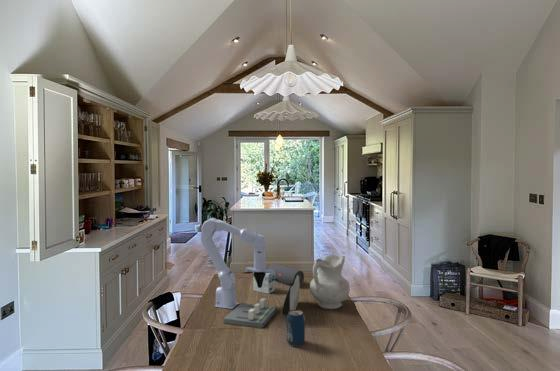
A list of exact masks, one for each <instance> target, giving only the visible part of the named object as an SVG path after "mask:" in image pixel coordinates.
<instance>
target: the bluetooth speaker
mask: <svg viewBox="0 0 560 371" xmlns="http://www.w3.org/2000/svg"><path fill="white" fill-rule="evenodd" d="M268 268H269V269H274V272H275V280H277V281H278V282H279V283H281V282H282V283H281V284H285V285H288V286H291V285H292V283H293V280H294V279H295V277H296V276H297V275H298V276H299V284H300V285H302V284H303V282H304V281H305V275H304V274H305V273H304V272H303V270H301V269H298V268H295V267H292V266H288V265H284V264H279V263H271V264H270V265H269V267H268Z"/></svg>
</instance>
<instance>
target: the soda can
mask: <svg viewBox="0 0 560 371" xmlns="http://www.w3.org/2000/svg"><path fill="white" fill-rule="evenodd" d="M305 324H306V323H305V315H304V312H303V310H300V309H296V310H290V311H289V312H288V315H286V341H287V343H288V345H289V346H292V347H300V346H302V345H303V344H304V342H305V340H306V339H305V338H306V337H305V336H306V335H305V334H306V332H305V331H306V330H305V328H306V326H305Z"/></svg>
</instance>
